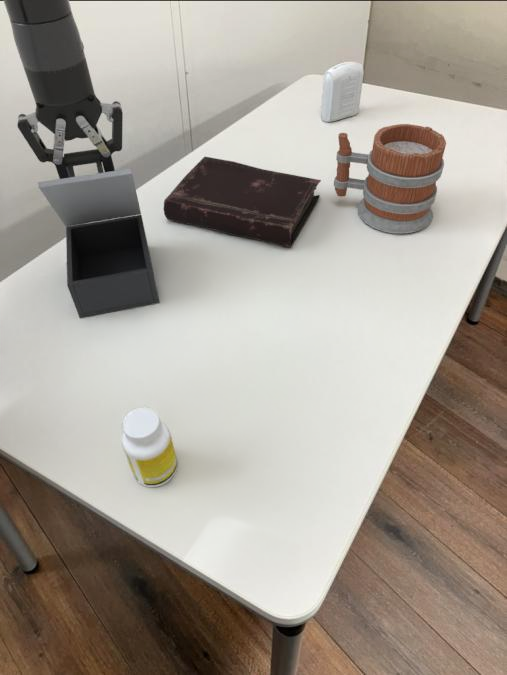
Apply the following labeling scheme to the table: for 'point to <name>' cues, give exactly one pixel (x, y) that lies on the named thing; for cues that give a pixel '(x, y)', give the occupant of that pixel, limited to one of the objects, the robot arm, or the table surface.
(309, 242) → the table surface
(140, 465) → the supplement bottle
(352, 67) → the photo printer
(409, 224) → the mug
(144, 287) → the dark grey open box
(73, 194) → the lid
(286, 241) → the diary
